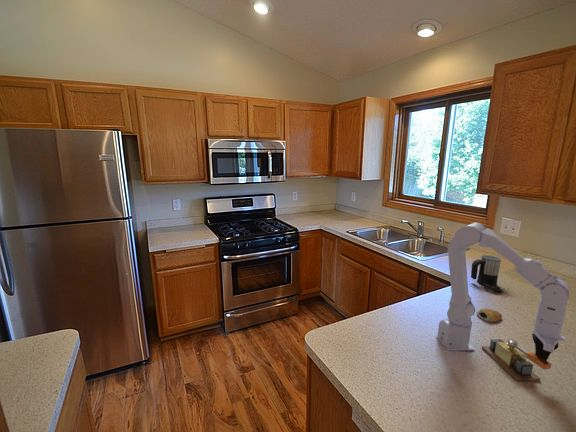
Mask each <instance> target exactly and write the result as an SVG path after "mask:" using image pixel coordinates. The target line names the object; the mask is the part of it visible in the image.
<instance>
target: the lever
mask: <svg viewBox="0 0 576 432" xmlns="http://www.w3.org/2000/svg"><path fill="white" fill-rule="evenodd" d="M506 342H507V345H508V346H510V347H512V348H516V349H518V350H519V351H521V352H522V353H524V354H525V355H527V357H526V359H527V360H528V361H529V360H530V362H531V363H532V364H535V365H537V366H538V367H539V368H542V369H543V370H551V367H552V363H551V362H550V361H548V360H547V361H546V360H545V359H543V358H542V357H540V356H538V355H537V354H535V351H533V352H530V351H528V350H526V349H525V348H523V347H522V346H520V345H519V343H518V341H516V340H514V339H510V338H508V339H507V341H506Z"/></svg>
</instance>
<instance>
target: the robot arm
mask: <svg viewBox="0 0 576 432" xmlns="http://www.w3.org/2000/svg"><path fill="white" fill-rule="evenodd" d="M476 244H478V245H477V246H478V247H482V248H483V247H484V248H491V249H492V250H493V251H494V252H496V253H497V254H499V255H500V256H501V257H503V259H506V260H507V261H508V262H510V263H511V264H513V265H514V266H515V272H516V273H517V274H519V276H521V277H522V278H523V279H524V280H525V281H527V282H528V283H529V284H531V285H532V287H534V288H536V289H538V290H539V291H540V292H539V293H540V295H541V298H540V300H539V303H538V307H537V310H536V317H535V322H534V327H532V334H531V336H532V339H533V343H534V348H535V351H534V353H535V354H537V355H538V356H540V357H542V358H543V359H545V360H546V361H548V359H549V358H550V356H551V354H553V353H554V351H555V350H557V349H558V348H559V342H560V341H561V342H566V340H567V339H566V336H564V335H561V333H562V331H563V324H564V323H565V322H564V321H565V316H566V312H567V305H568V301H569V300H570V298H571V297H570V294H571V291H572V290H571V286H570V284H569V283H568V282H567V280H566V279H564V278H562V277H560V276H558V275H557V274H556V273H555V274H554V273H552V272H551V271H549V270H548V269H546V267H545V266H543V263H542V262H541V261H540V260H535V259H534V258H529V257H528V258H526V257H524V256H523V255H521V254H520V253H518V251H517V250H515V249H514V248H513V247H512V246H511V245H509V244H508V243H507V242H506V241H505V240H504V239H502V238H501V237H500V236H499V235H498V234H496V233H495V232H494V231H493V230H492V229H490V228H489V227H486V226H485V225H484V224H482V223H480V222H471V223H470V224H468V225H465V226H462V227H461V228H459V229H458V230H456V231H455V232H454V235H453V237H452V238H451V240H450V241H449V243H448V244H447V253H448V265H449V277H450V278H449V279H450V289H451V296H450V300H449V307H448V310H447V313H446V315H447V318H446V319H443V320H439V323H438V330H437V335H436V336H435V338H437V340H438V341H439V342H440V343H441V344H442V345H443V346H444V348H445V349H446V350H448V351H475V347H473V346H472V345H471V344H470V339H471V332H472V326H473V321H472V317H473V316H474V314H475V313H476V307H475V305H474V303H473V302H472V297H471V296H470V294H469V284H468V283H469V282H468V269H467V258H466V250H468V249H469V248H470V247H472V246H474V245H476Z"/></svg>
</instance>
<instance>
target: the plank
mask: <svg viewBox="0 0 576 432" xmlns="http://www.w3.org/2000/svg"><path fill="white" fill-rule="evenodd" d="M489 348H490V345H488V346H487V345H483V346H481V349H482V350H483V351H484V352H485V353H486V354H487V355H488V356H490V357H491V358H492V359H493V360H494V361H495V362H496V363H497V364H498V365H499V366H501V367H502V368H503V369H504V370H505V372H506V373H508V374H509V375H510V376H511V377H512V378H513V379H515V380H516V381H517V382H540V381H541V378H540V377H539V376H538V374H536V373H534V372H533V371H532V374H531V375H519V374H518V373H516V370H515V369H514V368H509V367H507V366H506V365H505V364H504V363H503V362H502V361H501V360H500V359H499V358H497V357H496V356H495V351H492V350H490V349H489Z"/></svg>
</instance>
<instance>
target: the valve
mask: <svg viewBox="0 0 576 432" xmlns="http://www.w3.org/2000/svg"><path fill="white" fill-rule="evenodd" d="M489 344H490V345H489V346H490V348H489V349H490V350H492V351H495V356H496V357H497V358H499V359H500V360H501V361H502V362H503V363H504V364H505V365H506V366H507V367H509V368H514V369H515V370H516V373H518V374H519V375H531V374H532V372H533V370H534V369H533V368H534V363H533V362H531V361H527V358H526V357H527V355H525V354H524V353H522V352H521V351H519V350H518V349H516V348H512V347H510V346H508V345H507V341H504V340H503V339H502V338H501V339H500V338H499V339H498V338H493V339H490V343H489Z"/></svg>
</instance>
